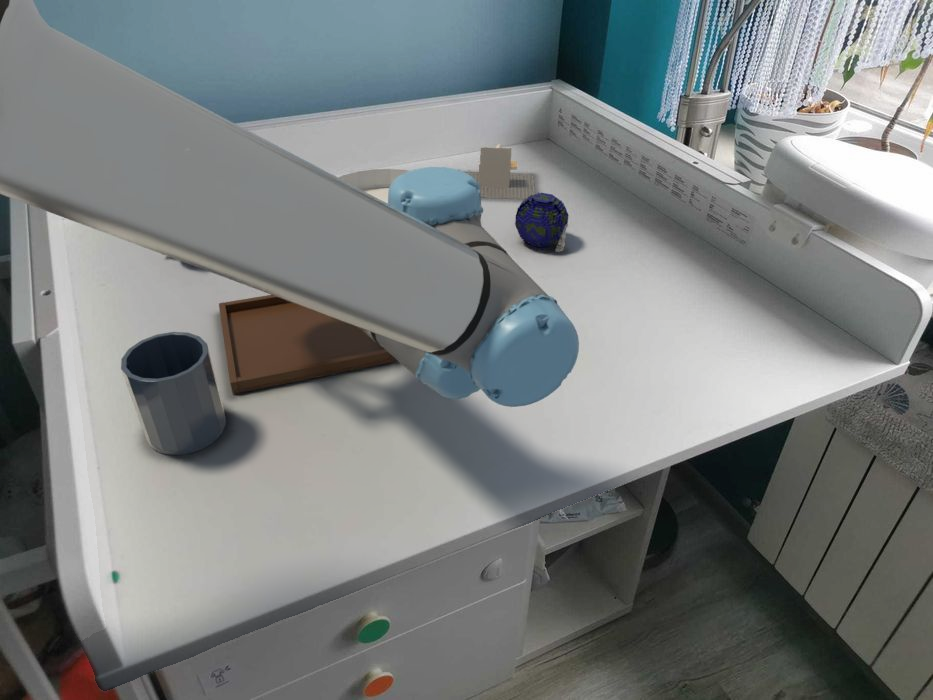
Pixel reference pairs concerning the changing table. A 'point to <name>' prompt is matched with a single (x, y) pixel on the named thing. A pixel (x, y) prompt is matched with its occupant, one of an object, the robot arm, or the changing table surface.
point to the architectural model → (501, 175)
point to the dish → (374, 181)
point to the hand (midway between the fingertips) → (270, 215)
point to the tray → (290, 343)
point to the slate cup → (174, 392)
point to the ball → (542, 221)
